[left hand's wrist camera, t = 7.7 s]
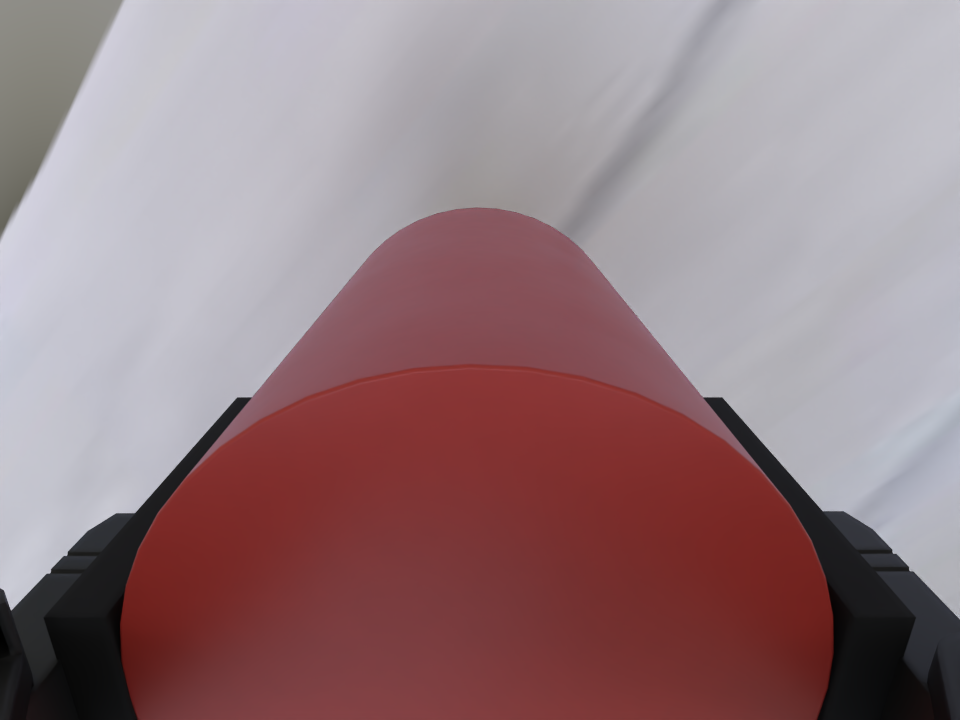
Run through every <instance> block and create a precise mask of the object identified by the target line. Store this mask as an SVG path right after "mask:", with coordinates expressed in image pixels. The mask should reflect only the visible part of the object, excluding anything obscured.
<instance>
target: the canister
mask: <svg viewBox="0 0 960 720" xmlns="http://www.w3.org/2000/svg"><path fill="white" fill-rule="evenodd" d="M120 638H121V662H122V667H123V671H124V675H125V679H126V683H127V687H128V690H129V694H130V698H131V701H132V705H133V708H134V711H135V714H136V717H137V720H817V719H818V716H819V713H820V710H821V707H822V704H823V701H824V698H825V695H826V692H827V689H828V685H829V679H830V672H831V666H832V660H833V654H834V642H833V612H832V607H831V602H830V597H829V592H828V587H827V582H826V577H825V574H824V572H823V569H822V566H821V564H820V561H819V559H818V556H817V553H816V551H815V548H814V546H813V543H812V541H811V539H810V537H809V535H808V534H807V532H806V531H805V529H804V527H803V526H802V524H801V522H800V521H799V519H798V517H797V516H796V514H795V512H794V511H793V509H792V507H791V506H790V504H789V503H788V502H787V500H786V499H785V498H784V497H783V495H782V494H781V493H780V492H779V491H778V489H777V488H776V487H775V486H774V484H773V483H772V482H771V481H770V479H769V478H768V477H767V476H766V475H765V473H764V472H763V471H762V470H761V468H760V467H759V466H758V465H757V464H756V462H755V461H754V460H753V459H752V457H751V456H750V455H749V454H748V452H747V451H746V450H745V449H744V448H743V446H742V445H741V444H740V443H739V441H738V440H737V439H736V438H735V436H734V435H733V434H732V433H731V432H730V430H729V429H728V428H727V427H726V425H725V424H724V423H723V422H722V420H721V419H720V418H719V417H718V416H717V414H716V413H715V412H714V411H713V409H712V408H711V407H710V406H709V404H708V403H707V402H706V401H705V400H704V398H703V397H702V396H701V395H700V393H699V392H698V391H697V390H696V388H695V387H694V386H693V385H692V384H691V382H690V381H689V380H688V379H687V377H686V376H685V375H684V374H683V373H682V371H681V370H680V369H679V368H678V366H677V365H676V364H675V363H674V361H673V360H672V359H671V358H670V357H669V355H668V354H667V353H666V352H665V350H664V349H663V348H662V347H661V345H660V344H659V343H658V342H657V341H656V339H655V338H654V337H653V336H652V334H651V333H650V332H649V331H648V329H647V328H646V327H645V326H644V325H643V323H642V322H641V321H640V320H639V318H638V317H637V316H636V315H635V313H634V312H633V311H632V310H631V309H630V307H629V306H628V305H627V304H626V302H625V301H624V300H623V299H622V297H621V296H620V295H619V294H618V293H617V291H616V290H615V289H614V288H613V286H612V285H611V284H610V283H609V281H608V280H607V279H606V278H605V277H604V275H603V274H602V273H601V272H600V270H599V269H598V268H597V267H596V266H595V264H594V263H593V262H592V261H591V260H590V258H589V257H588V256H587V255H586V254H585V253H584V251H583V250H582V249H580V248H579V247H578V246H577V245H576V244H575V243H574V242H573V241H571V240H570V239H569V238H568V237H566V236H565V235H563V234H562V233H560V232H559V231H557V230H556V229H554V228H553V227H551V226H549V225H547V224H545V223H543V222H541V221H539V220H537V219H535V218H531V217H528V216H525V215H522V214H519V213H516V212H511V211H506V210H501V209H492V208H466V209H456V210H451V211H446V212H442V213H437V214H434V215H432V216H429V217H426V218H423V219H421V220H418V221H416V222H414V223H412V224H411V225H409V226H407V227H405V228H403V229H401V230H400V231H398V232H397V233H395V234H394V235H393V236H391V237H390V238H388V239H387V240H386V241H384V242H383V243H382V244H381V245H380V246H379V247H378V248H377V249H376V250H375V251H374V252H373V253H372V254H371V255H370V256H369V257H368V259H367V260H366V261H365V262H364V263H363V265H362V266H361V267H360V268H359V269H358V271H357V272H356V273H355V274H354V276H353V277H352V278H351V279H350V280H349V282H348V283H347V284H346V285H345V286H344V288H343V289H342V290H341V291H340V292H339V294H338V295H337V296H336V297H335V298H334V300H333V301H332V302H331V303H330V304H329V306H328V307H327V308H326V309H325V310H324V312H323V313H322V314H321V315H320V316H319V318H318V319H317V320H316V321H315V322H314V324H313V325H312V326H311V327H310V328H309V330H308V331H307V332H306V333H305V334H304V336H303V337H302V338H301V339H300V341H299V342H298V343H297V344H296V345H295V347H294V348H293V349H292V350H291V351H290V353H289V354H288V355H287V356H286V357H285V359H284V360H283V361H282V362H281V363H280V365H279V366H278V367H277V368H276V369H275V371H274V372H273V373H272V374H271V375H270V377H269V378H268V379H267V380H266V381H265V383H264V384H263V385H262V386H261V387H260V389H259V390H258V391H257V392H256V393H255V395H254V396H253V397H252V398H251V400H250V401H249V402H248V403H247V404H246V406H245V407H244V408H243V409H242V410H241V412H240V413H239V414H238V415H237V416H236V418H235V419H234V420H233V421H232V422H231V424H230V425H229V426H228V427H227V428H226V430H225V431H224V432H223V433H222V434H221V436H220V437H219V438H218V439H217V440H216V442H215V443H214V444H213V445H212V446H211V448H210V449H209V450H208V451H207V452H206V454H205V455H204V456H203V457H202V458H201V460H200V461H199V462H198V463H197V465H196V466H195V467H194V468H193V469H192V471H191V472H190V473H189V474H188V475H187V477H186V478H185V479H184V480H183V482H182V483H181V484H180V485H179V487H178V488H177V489H176V490H175V492H174V493H173V494H172V496H171V497H170V498H169V499H168V501H167V502H166V503H165V504H164V506H163V507H162V508H161V510H160V511H159V512H158V514H157V515H156V517H155V519H154V521H153V523H152V525H151V526H150V528H149V530H148V532H147V534H146V536H145V537H144V539H143V541H142V543H141V545H140V547H139V548H138V551H137V554H136V557H135V560H134V563H133V566H132V569H131V572H130V575H129V578H128V581H127V584H126V588H125V595H124V602H123V609H122V615H121V622H120Z"/></svg>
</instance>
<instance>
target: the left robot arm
mask: <svg viewBox="0 0 960 720" xmlns="http://www.w3.org/2000/svg"><path fill="white" fill-rule="evenodd" d="M250 400H251V398H237V399H236V400H235V401H234V402H233V403H232V404H231V405H230V406H229V408H228V409H227V410H226V411H225V412H224V413H223V414H222V416H221V417H220V418H219V419H218V420H217V421H216V422H215V423H214V425H213V426H212V427H211V428H210V429H209V430H208V431H207V433H206V434H205V435H204V436H203V437H202V438H201V439H200V440H199V442H198V443H197V444H196V445H195V446H194V447H193V448H192V450H191V451H190V452H189V453H188V454H187V455H186V456H185V457H184V459H183V460H182V461H181V462H180V463H179V464H178V465H177V467H176V468H175V469H174V470H173V471H172V472H171V473H170V474H169V476H168V477H167V478H166V479H165V480H164V481H163V482H162V484H161V485H160V486H159V487H158V488H157V489H156V490H155V491H154V493H153V494H152V495H151V496H150V497H149V498H148V499H147V501H146V502H145V503H144V504H143V505H142V506H141V507H140V508H139V510H138V511H137V512H136V513H116V514H115V515H113V516H111V517H110V518H108V519H107V520H105V521H103V522H102V523H100V524H99V525H97V526H95V527H94V528H92V529H91V530H89V531H87V533H86V534H85V535H84V536H83V537H82V538H81V539H80V540H79V541H78V542H77V543H76V544H75V545H74V546H73V547H72V548H71V549H70V550H69V551H68V555H67V556H63V558H62V559H61V560H60V561H59V562H58V563H57V564H56V565H55V566H54V567H53V568H52V569H51V573H50V574H46V575H45V576H44V577H43V578H42V579H41V580H40V581H39V583H38V584H37V585H36V586H35V587H34V588H33V589H32V590H31V591H30V592H29V593H28V594H27V595H26V596H25V597H24V598H23V599H22V600H21V601H20V602H19V603H18V604H17V605H16V606H15V608H14V609H13V610H12V611H11V610H10V607H9V604H8V601H7V598H6V595H5V592H4V590H2V589H0V720H137V717H136V714H135V711H134V708H133V705H132V701H131V698H130V694H129V690H128V687H127V683H126V679H125V675H124V671H123V667H122V662H121V638H120V622H121V615H122V609H123V602H124V595H125V588H126V584H127V581H128V578H129V575H130V572H131V569H132V566H133V563H134V560H135V557H136V554H137V551H138V548H139V547H140V545H141V543H142V541H143V539H144V537H145V536H146V534H147V532H148V530H149V528H150V526H151V525H152V523H153V521H154V519H155V517H156V515H157V514H158V512H159V511H160V510H161V508H162V507H163V506H164V504H165V503H166V502H167V501H168V499H169V498H170V497H171V496H172V494H173V493H174V492H175V490H176V489H177V488H178V487H179V485H180V484H181V483H182V482H183V480H184V479H185V478H186V477H187V475H188V474H189V473H190V472H191V471H192V469H193V468H194V467H195V466H196V465H197V463H198V462H199V461H200V460H201V458H202V457H203V456H204V455H205V454H206V452H207V451H208V450H209V449H210V448H211V446H212V445H213V444H214V443H215V442H216V440H217V439H218V438H219V437H220V436H221V434H222V433H223V432H224V431H225V430H226V428H227V427H228V426H229V425H230V424H231V422H232V421H233V420H234V419H235V418H236V416H237V415H238V414H239V413H240V412H241V410H242V409H243V408H244V407H245V406H246V404H247V403H248V402H249V401H250ZM704 400H705V401H706V402H707V403H708V404H709V406H710V407H711V408H712V409H713V411H714V412H715V413H716V414H717V416H718V417H719V418H720V419H721V420H722V422H723V423H724V424H725V425H726V427H727V428H728V429H729V430H730V432H731V433H732V434H733V435H734V436H735V438H736V439H737V440H738V441H739V443H740V444H741V445H742V446H743V448H744V449H745V450H746V451H747V452H748V454H749V455H750V456H751V457H752V459H753V460H754V461H755V462H756V464H757V465H758V466H759V467H760V468H761V470H762V471H763V472H764V473H765V475H766V476H767V477H768V478H769V479H770V481H771V482H772V483H773V484H774V486H775V487H776V488H777V489H778V491H779V492H780V493H781V494H782V495H783V497H784V498H785V499H786V500H787V502H788V503H789V504H790V506H791V507H792V509H793V511H794V512H795V514H796V516H797V517H798V519H799V521H800V522H801V524H802V526H803V527H804V529H805V531H806V532H807V534H808V535H809V537H810V539H811V541H812V543H813V546H814V548H815V551H816V553H817V556H818V559H819V561H820V564H821V566H822V569H823V572H824V574H825V577H826V582H827V587H828V592H829V597H830V602H831V607H832V612H833V642H834V654H833V660H832V666H831V672H830V679H829V685H828V689H827V692H826V695H825V698H824V701H823V704H822V707H821V710H820V713H819V716H818V719H817V720H960V619H959V618H958V617H957V616H956V615H955V614H954V613H953V612H952V611H951V610H950V609H949V608H948V607H947V606H946V605H945V604H944V603H943V602H942V601H941V600H940V599H939V598H938V597H937V596H936V595H935V594H934V592H933V591H932V590H931V589H930V588H929V587H928V586H927V585H926V584H925V583H924V582H923V581H922V580H921V579H920V578H919V577H918V576H917V575H916V574H915V573H914V572H910V571H909V567H908V566H907V565H906V564H905V562H904V561H903V560H902V559H901V558H900V557H899V556H898V555H897V554H893V553H892V549H891V548H890V547H889V546H888V545H887V544H886V543H885V542H884V541H883V540H882V539H881V538H880V537H879V536H878V535H877V533H876V532H875V531H874V530H873V529H871V528H870V527H868V526H866V525H865V524H863V523H862V522H860V521H858V520H857V519H855V518H853V517H852V516H850V515H849V514H847V513H845V512H844V511H822V510H821V509H820V508H819V507H818V506H817V504H816V503H815V502H814V501H813V500H812V499H811V498H810V496H809V495H808V494H807V493H806V492H805V491H804V490H803V489H802V487H801V486H800V485H799V484H798V483H797V482H796V481H795V479H794V478H793V477H792V476H791V475H790V474H789V473H788V472H787V470H786V469H785V468H784V467H783V466H782V465H781V464H780V462H779V461H778V460H777V459H776V458H775V457H774V456H773V455H772V453H771V452H770V451H769V450H768V449H767V448H766V447H765V445H764V444H763V443H762V442H761V441H760V440H759V439H758V438H757V436H756V435H755V434H754V433H753V432H752V431H751V430H750V428H749V427H748V426H747V425H746V424H745V423H744V422H743V421H742V419H741V418H740V417H739V416H738V415H737V414H736V413H735V411H734V410H733V409H732V408H731V407H730V406H729V405H728V404H727V402H726V401H725V400H724V399H723V398H704Z"/></svg>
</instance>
